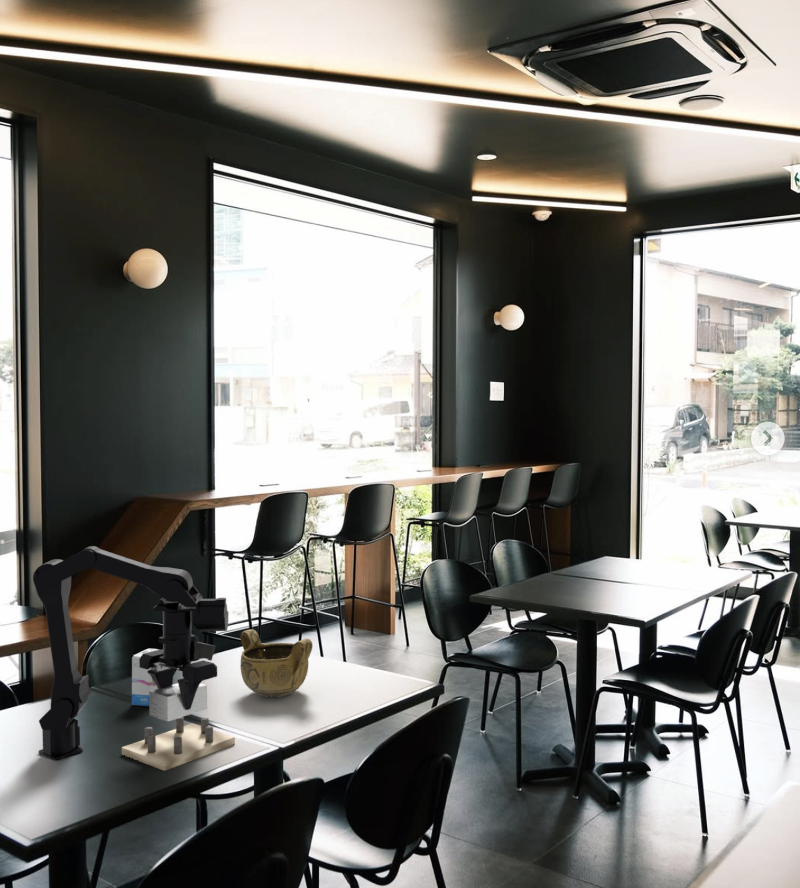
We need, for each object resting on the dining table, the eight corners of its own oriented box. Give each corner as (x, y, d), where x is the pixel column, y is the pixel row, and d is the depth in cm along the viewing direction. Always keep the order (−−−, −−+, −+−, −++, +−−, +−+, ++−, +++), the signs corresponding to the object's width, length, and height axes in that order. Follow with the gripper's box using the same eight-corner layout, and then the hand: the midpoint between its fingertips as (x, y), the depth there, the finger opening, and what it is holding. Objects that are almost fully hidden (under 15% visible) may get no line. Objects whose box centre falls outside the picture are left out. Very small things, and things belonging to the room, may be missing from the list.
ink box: (150, 706, 214) (149, 657, 213) (131, 705, 215) (130, 656, 214) (166, 695, 222) (166, 648, 222) (148, 694, 223) (147, 647, 223)
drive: (167, 721, 180) (167, 696, 180) (149, 715, 184) (149, 691, 184) (207, 708, 188) (206, 685, 188) (188, 703, 192) (188, 680, 192)
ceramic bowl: (331, 693, 223) (330, 633, 222) (283, 712, 209) (282, 648, 209) (267, 678, 236) (267, 622, 236) (218, 694, 223) (217, 634, 222)
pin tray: (164, 770, 175) (164, 748, 175) (121, 754, 183) (121, 732, 183) (234, 744, 189) (234, 722, 189) (192, 730, 198) (191, 709, 197)
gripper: (237, 630, 186) (237, 705, 186) (180, 618, 198) (181, 688, 198) (194, 641, 177) (195, 719, 178) (137, 628, 189) (138, 701, 189)
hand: (178, 706), depth 186 cm, fingers closed on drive, 6 cm apart
